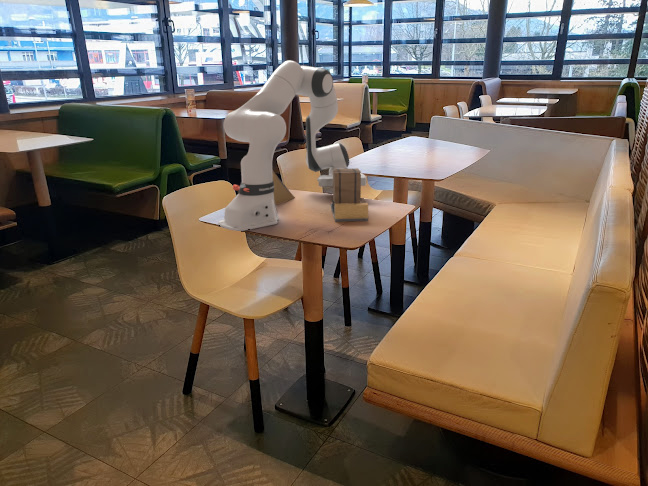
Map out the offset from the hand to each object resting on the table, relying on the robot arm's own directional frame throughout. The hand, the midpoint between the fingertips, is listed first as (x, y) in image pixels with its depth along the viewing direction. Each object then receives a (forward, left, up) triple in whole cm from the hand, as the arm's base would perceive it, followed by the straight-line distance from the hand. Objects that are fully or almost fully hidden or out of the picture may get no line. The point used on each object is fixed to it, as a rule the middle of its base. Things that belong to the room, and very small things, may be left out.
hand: (344, 184), depth 200 cm
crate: (-6, -6, -5) cm, 10 cm away
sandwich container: (-14, +25, -8) cm, 30 cm away
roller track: (-10, -11, -8) cm, 16 cm away
